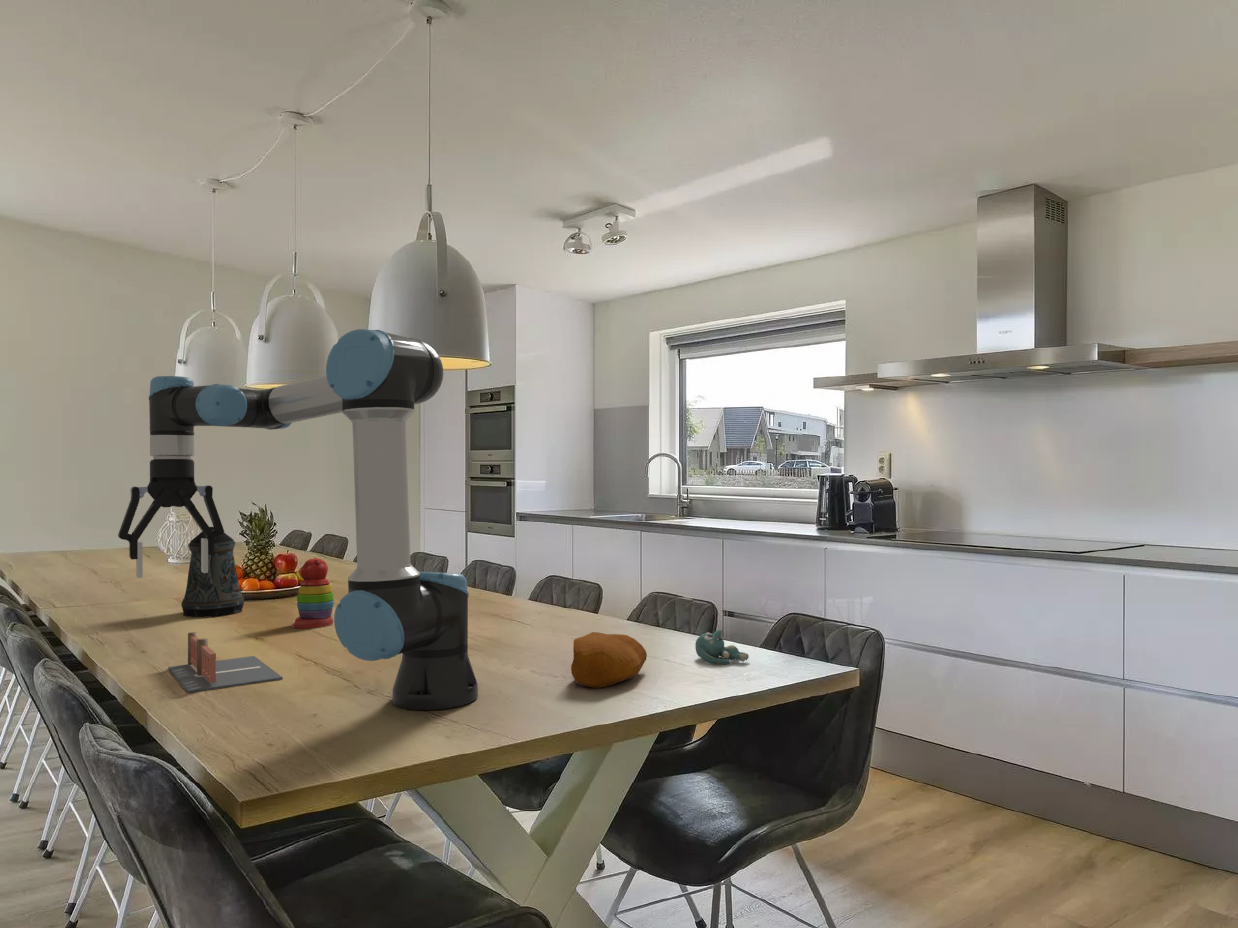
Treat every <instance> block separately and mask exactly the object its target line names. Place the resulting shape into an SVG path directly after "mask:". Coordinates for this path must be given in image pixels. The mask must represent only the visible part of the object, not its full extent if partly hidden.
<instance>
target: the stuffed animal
mask: <svg viewBox="0 0 1238 928" xmlns="http://www.w3.org/2000/svg"><path fill="white" fill-rule="evenodd" d="M722 634H723V630H722V629H717V630H716V631H714V632H713V633H711V632H709V631H708V632H706V633H703V634H700V636H699V637H697V639H696V640H695V652H696V654H697V656H698V657H699V658H701V659H703V660H704V661H706V662H707V664H710V665H717V666H718V665H719V666H722V665H726V664H730V661H734V660H738V661H739V662H740V661H741V662H742V663H744V662H745V661H747V660H749V658H750V656H749V654H748V653H746V652H743V651H739V648H738V647H737V646H736V645H733V644H732V645H727V646H725V640H724V636H722ZM720 657H721V658H722V659H721V658H720Z"/></svg>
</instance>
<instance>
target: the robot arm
mask: <svg viewBox="0 0 1238 928" xmlns="http://www.w3.org/2000/svg"><path fill="white" fill-rule="evenodd" d="M443 379H444V366H443V363H442V360H441V358H440V356H439V353H437V351H436V350H435V349H434V348H433V347H432V346H431V345H429V344H428V343H426V342H424V341H423V340H420V339H416V338H413V337H407V336H403V335H398V334H394V333H389V332H386V331H383V330H380V329H365V328H360V329H352V330H351V331H347V332H346V333H345V334H343V335H342V336H341V337H339V339H338V340H337V342H336V343H335V344H334V345H332V347H331V349H330V351H329V354H328V356H327V360H326V366H325V375H321V376H317V377H313V378H308V379H304V380H301V381H300V380H299V381H297V382H296V381H295V382H292V383H287V384H282V385H279V386H276V387H271V388H266V389H251V388H250V389H248V388H241V387H239V388H238V387H237V386H236V385H232V384H220V383H213V384H208V385H194V384H195V382H194V380H193V379H192V378H191V377H187V376H179V375H178V376H177V375H158V376H155V377H152V378H151V379H150V382H149V383H150V385H149V395H148V400H149V401H148V403H149V404H148V405H149V410H148V411H149V457H153V459H150V461H149V481H148V482H149V483H148V484H147V486H139V487H138V486H132V487H130V500H129V503H128V506H127V508H126V512H125V515H124V517H123V519H122V523H121V524H120V525H121V526H120V528H119V531H118V535H117V537H118V538H119V539H121V540H124V541H127V542H128V544H129V554H128V555H129V558H130V560H135V567H136V568H135V573H136V574H135V576H136V578H143V574H144V573H143V571H144V570H143V566H144V565H143V559H144V558H143V541H141V540H139V539H140V538H141V536H142V534H143V533H144V531H145V530H146V528H147V527H148V526H149V524H150V522H151V521H152V520H153V518H154V516H155V515H156V514H157V513H158V512H159V510H160V509H161V508H170V507H175V508H183V507H184V508H185V509H186V510H187V512H188V513H189V514H190V516H191V518H193V521H194V522H195V523H196V524H197V526H198V527H199V529H200V530H201V532H203V533H204V535H205V536H206V538H201V572H203V573H208V555H213V553H214V538H215V537H216V536H218V535H222V534H223V533H225V529H224V526H223V524H222V523H223V522H222V520H221V518H220V515H219V512H218V510H217V507H216V504H215V500H214V498H213V490H214V488H213V486H212V485H209V484H208V485H197V484H196V482H195V460H193V459H192V457H193V456H195V431H194V430H195V427H223V428H224V427H229V428H250V429H252V428H253V429H265V430H270V431H271V430H282V429H286V428H288V427H290V426H291V424H293V423H296V422H301V421H307V420H311V419H316V418H322V417H326V416H331V415H336V414H339V413H340V414H341V413H342V414H343V415H344V416H345V417H347V419H348V420H350V422H351V423H352V448H353V450H352V451H353V452H352V453H353V476H354V477H353V479H354V483H353V484H354V505H355V506H354V508H355V511H354V512H355V538H356V540H355V541H356V542H355V543H356V564H357V565H356V567H355V569H354V570H353V572H351V573H350V575H349V576H348V577H347V583H348V584H347V585H348V586H347V588H348V592H347V594H345V595H344V596H343V597H342V598H341V599H340V600H339V603H338V604H337V605H336V606H335V610H334V616H333V624H334V629H335V633H336V635H337V638H338V639H339V642H340V644H341V645H342V647H344V648H346V649H347V651H348V653H349V654H351V656H353V657H354V658H357V659H360V660H363V661H366V662H375V661H380V660H389V659H391V658H395V657H396V656H398V655H400V654H402V655H401V656H402V657H401V661H400V664H399V667H398V671H397V674H396V677H395V681H394V683H393V687H392V691H391V692H392V695H391V697H392V704H393V705H395V706H396V707H399V708H402V709H408V710H419V711H420V710H421V711H432V710H433V711H434V710H435V711H436V710H445V709H453V708H457V707H461V706H465V705H467V704H471V703H472V702H474V701H475V700H478V696H479V694H478V693H479V686H478V685H479V684H478V680H477V679H476V676H475V673H474V670H473V666H472V663H471V660H470V657H469V647H468V646H469V644H468V643H469V641H468V640H469V639H468V638H469V634H468V633H469V630H468V629H469V628H468V627H469V624H468V623H469V622H468V621H469V620H468V619H469V617H468V616H469V614H468V613H469V612H468V611H469V607H468V606H469V602H468V599H469V590H468V580H467V578H466V576H465V575H464V574H461V573H457V572H456V573H453V572H436V571H435V572H434V571H418V570H417V569H416V568H415V567H414V565H412V563H411V541H410V539H411V538H410V536H411V535H410V515H409V514H410V511H409V486H408V485H409V484H408V479H409V478H408V455H407V454H408V453H407V429H406V428H407V426H406V425H407V423H406V422H407V421H408V419H409V418H410V417H411V416H412V415H413V414H414V413H415V405H418V404H419V405H420V404H422V403H424V402H427V401H429V400H430V399H432V398H433V397H434V396H435V395H436V394H437V393H438V392H439V390H440V388H441V386H442V383H443ZM197 492H198V493H199V496H200V497H203V501H204V504H205V507H206V510H207V513H208V516H209V518H210V521H211V525H212V527H214V530H211V529H210V527H211V526H209V524H208V523H207V521H206V520H205V519H204V518H203V516H202V515H201V513H200V512H199V510H198V509H197V507H196V505H195V504H194V502H193V501H192V500H191V499H192V497H193V496H194V495H195V494H196V493H197ZM146 493H147V494H149V496H150V497H151V498H152V499H153V501H152V502H151V504H150V505H149V507H148V509H147V510H146V512H145V513H144V515H143V516H142V518H141V519H140V521H139V522H138V523H137V525H136V526H135V527H134V529H133V531H132V533H129V531H130V528H131V526H132V524H133V520H134V519H135V518H134V517H135V515H136V512H137V509H138V506H139V503H140V500H141V499H143V498H144V497H145V494H146Z"/></svg>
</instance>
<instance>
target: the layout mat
mask: <svg viewBox="0 0 1238 928" xmlns="http://www.w3.org/2000/svg"><path fill="white" fill-rule="evenodd" d="M168 670H169V671H170V672H171V674H172V675H173V676H174V677H175V679H176V680H177V681H178V683H179V684H180V685H181V686H182V687H183V688H184V690H185V692H187V693H189V694H190V693H191V694H192V693H196V692H203V691H210V690H218V689H225V688H231V687H232V688H233V687H239V686H244V685H252V684H260V683H266V682H273V681H274V682H275V681H280V680H283V679H284V678H283V676H282V675H280V674H279V673H278V672H276V671H275V670H274V669H272V668H271V667H270V666H268V665H267V664H266V663H264V662H263V661H261V660H260V659H259V658H258V657H257V656H255V655H250V656H243V657H242V656H241V657H235V658H229V659H226V658H225V659H220V660H218V659H217V660H216V682H215V683H210V682H209V681H208V680H207V679H206V678H205V677H204V676H198V675H197V669H196V668H195V667H194V666H193V665H188V663H187V664H179V665H174V666H173V665H172V666H168Z"/></svg>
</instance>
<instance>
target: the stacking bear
mask: <svg viewBox="0 0 1238 928" xmlns="http://www.w3.org/2000/svg"><path fill="white" fill-rule="evenodd" d="M297 572H298V575H299V576H300V577H301V578H302V579H303V580H302V581H301V582H300V586H298V587H299V588H298V594H297V596H296V606H297V609H298V610H297V611H298V615H299V616H298V617H296V618H295V620H294V623H293V629H297V630H303V629H315V628H323V627H328V626H332V625H333V624H334V618H333V617H332V615H333V610H334V609H333V608H334V603H335V600H334V599H335V596H334V592H333V586H332V584H331V583H330V581H329V580H328V579H327V578H326V577H327V575H328V572H329V568H328V564H327V562H326V561H325V560H323V559H321V558H317V557H313V558H309V559H308V560H306V561H305V562H304V564H303V565H302V566H301V567H300V568H299V569H298V571H297Z"/></svg>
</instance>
